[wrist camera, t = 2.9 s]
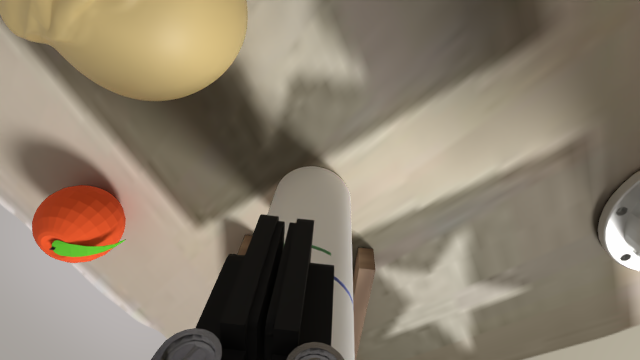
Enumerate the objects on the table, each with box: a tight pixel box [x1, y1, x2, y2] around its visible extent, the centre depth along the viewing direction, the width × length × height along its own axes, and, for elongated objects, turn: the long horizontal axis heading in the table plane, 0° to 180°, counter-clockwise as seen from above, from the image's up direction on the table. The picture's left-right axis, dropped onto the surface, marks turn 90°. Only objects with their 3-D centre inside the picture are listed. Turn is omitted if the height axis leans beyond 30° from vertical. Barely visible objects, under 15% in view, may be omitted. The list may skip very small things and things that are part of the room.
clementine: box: [32, 185, 126, 263], centre depth 31 cm, size 8×7×7 cm
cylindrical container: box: [267, 166, 355, 360], centre depth 22 cm, size 7×7×25 cm
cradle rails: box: [237, 235, 375, 360], centre depth 39 cm, size 13×22×3 cm, turn 175°
